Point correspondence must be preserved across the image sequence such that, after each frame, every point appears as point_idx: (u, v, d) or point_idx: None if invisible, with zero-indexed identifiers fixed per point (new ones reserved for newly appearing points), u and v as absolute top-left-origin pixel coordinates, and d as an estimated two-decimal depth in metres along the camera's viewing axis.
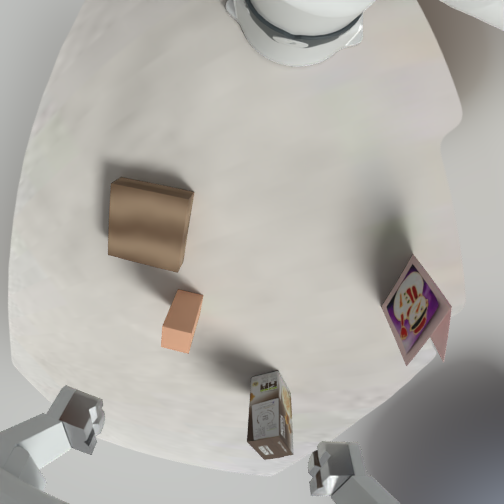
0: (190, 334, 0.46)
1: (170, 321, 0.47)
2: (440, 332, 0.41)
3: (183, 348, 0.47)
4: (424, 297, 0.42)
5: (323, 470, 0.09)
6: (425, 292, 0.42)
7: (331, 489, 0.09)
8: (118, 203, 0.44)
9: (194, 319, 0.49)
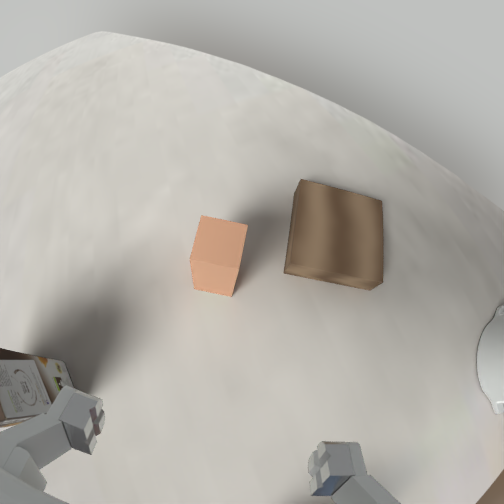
0: (236, 267, 0.29)
1: None
2: None
3: (201, 251, 0.29)
4: None
5: (323, 470, 0.09)
6: None
7: (331, 489, 0.09)
8: (364, 205, 0.41)
9: None
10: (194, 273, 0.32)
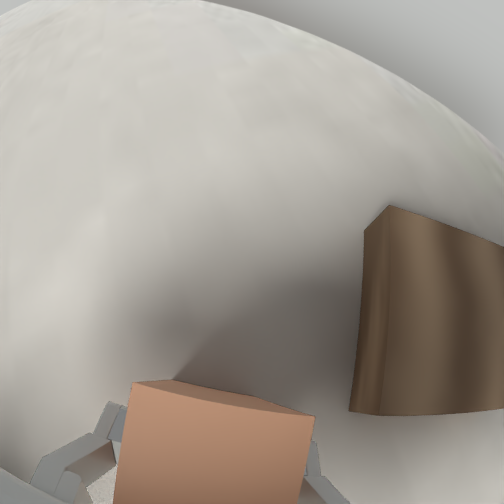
0: None
1: None
2: None
3: None
4: None
5: None
6: None
7: None
8: (490, 259, 0.18)
9: None
10: None
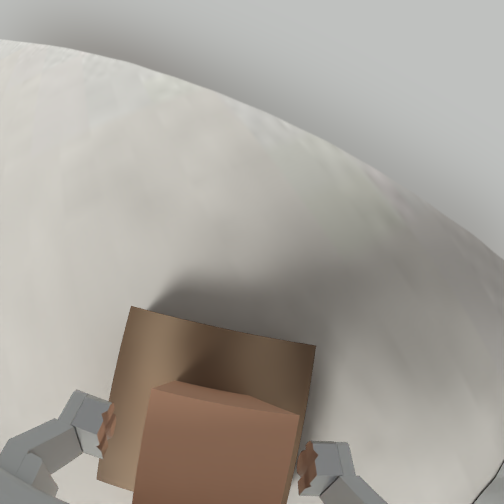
0: None
1: None
2: None
3: (162, 499, 0.07)
4: None
5: (310, 469, 0.09)
6: None
7: (319, 489, 0.09)
8: (268, 362, 0.19)
9: None
10: None
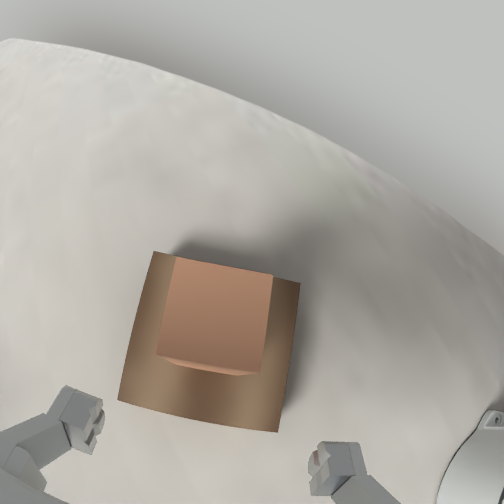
0: (254, 368, 0.13)
1: None
2: None
3: (179, 338, 0.13)
4: None
5: (323, 470, 0.09)
6: None
7: (331, 489, 0.09)
8: None
9: None
10: None
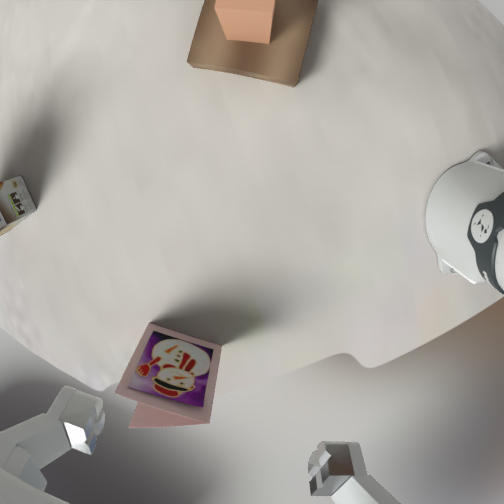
0: (269, 11, 0.19)
1: None
2: (161, 412, 0.36)
3: None
4: (193, 381, 0.38)
5: (323, 470, 0.09)
6: (199, 380, 0.38)
7: (331, 489, 0.09)
8: None
9: (271, 23, 0.22)
10: (223, 23, 0.23)
